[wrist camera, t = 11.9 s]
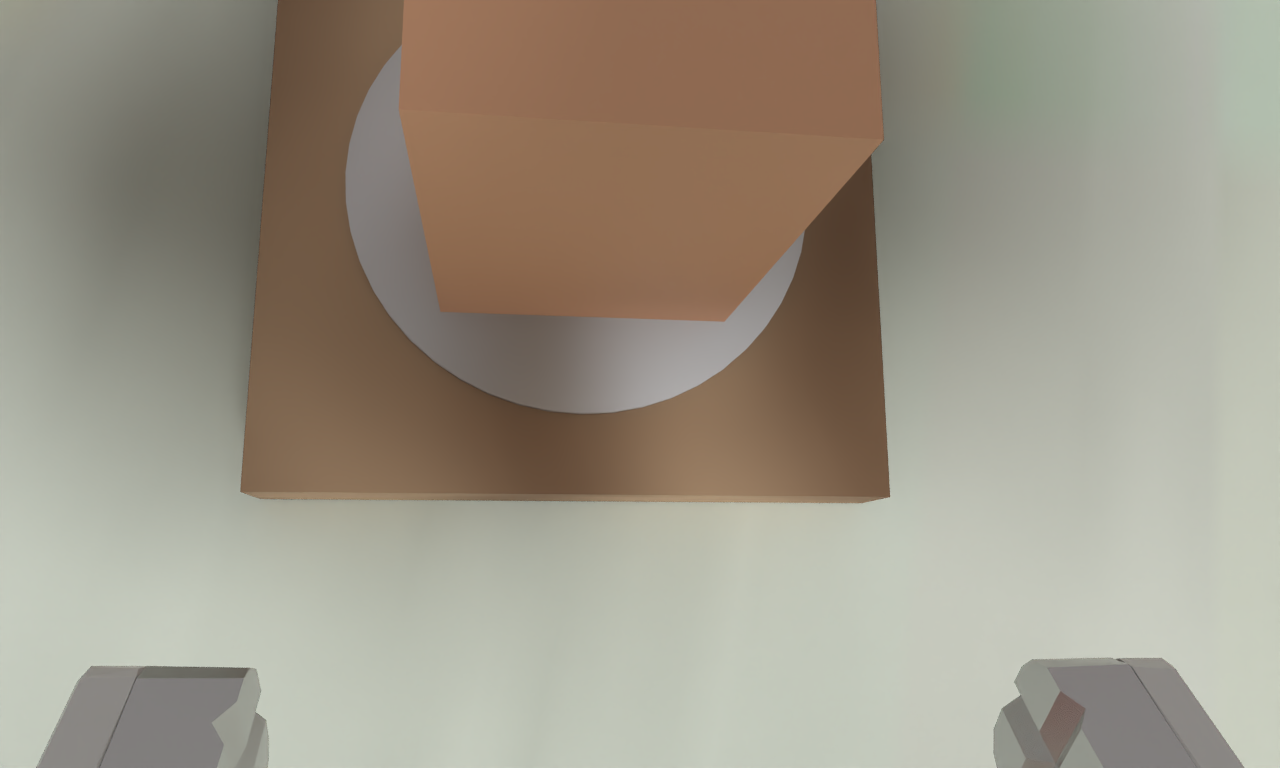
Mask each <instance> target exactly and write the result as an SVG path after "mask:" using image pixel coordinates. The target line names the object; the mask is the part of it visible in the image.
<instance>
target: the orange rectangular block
mask: <svg viewBox="0 0 1280 768" xmlns="http://www.w3.org/2000/svg"><path fill="white" fill-rule="evenodd" d="M399 114H400V118H401V123H402V128H403V133H404V138H405V143H406V147H407V152H408V157H409V162H410V167H411V172H412V177H413V181H414V186H415V191H416V196H417V201H418V206H419V210H420V215H421V220H422V225H423V230H424V235H425V239H426V244H427V249H428V254H429V259H430V264H431V269H432V273H433V278H434V283H435V288H436V293H437V298H438V302H439V307H440V312H458V313H487V314H516V315H545V316H574V317H603V318H632V319H661V320H690V321H719V322H725V321H726V319H727V318H728V317H729V316H730V315H731V314H732V313H733V311H734V310H735V309H736V308H737V307H738V306H739V305H740V303H741V302H742V301H743V300H744V299H745V298H746V297H747V295H748V294H749V293H750V292H751V291H752V290H753V289H754V287H755V286H756V285H757V284H758V283H759V282H760V281H761V279H762V278H763V277H764V276H765V275H766V274H767V273H768V271H769V270H770V269H771V268H772V267H773V266H774V265H775V263H776V262H777V261H778V260H779V259H780V258H781V257H782V255H783V254H784V253H785V252H786V251H787V250H788V249H789V247H790V246H791V245H792V244H793V243H794V242H795V241H796V239H797V238H798V237H799V236H800V235H801V234H802V233H803V232H804V230H805V229H806V228H807V227H808V226H809V225H810V224H811V222H812V221H813V220H814V219H815V218H816V217H817V216H818V214H819V213H820V212H821V211H822V210H823V209H824V208H825V206H826V205H827V204H828V203H829V202H830V201H831V200H832V198H833V197H834V196H835V195H836V194H837V193H838V192H839V190H840V189H841V188H842V187H843V186H844V185H845V184H846V182H847V181H848V180H849V179H850V178H851V177H852V176H853V174H854V173H855V172H856V171H857V170H858V169H859V168H860V166H861V165H862V164H863V163H864V162H865V161H866V160H867V158H868V157H869V156H870V155H871V154H872V153H873V152H874V150H875V149H876V148H877V147H878V146H879V145H880V144H881V142H882V141H883V140H884V134H883V116H882V99H881V81H880V64H879V47H878V29H877V12H876V0H404V10H403V30H402V50H401V71H400V91H399Z"/></svg>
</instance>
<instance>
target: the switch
mask: <svg viewBox="0 0 1280 768" xmlns="http://www.w3.org/2000/svg"><path fill="white" fill-rule="evenodd" d="M403 10H404V0H278V8H277V21H276V34H275V47H274V60H273V73H272V86H271V99H270V112H269V125H268V138H267V151H266V164H265V177H264V190H263V203H262V216H261V229H260V242H259V255H258V268H257V281H256V294H255V307H254V320H253V333H252V346H251V360H250V373H249V386H248V399H247V412H246V425H245V438H244V451H243V464H242V477H241V490H240V492H243V493H245V494H248V495H251V496H254V497H257V498H260V499H360V500H501V501H641V502H781V503H864V502H869V501H874V500H878V499H883V498H888V497H890V488H889V469H888V451H887V433H886V415H885V397H884V379H883V361H882V343H881V325H880V307H879V289H878V270H877V252H876V234H875V216H874V198H873V180H872V162H871V155H870V156H869V157H868V158H867V160H866V161H865V162H864V163H863V164H862V165H861V166H860V168H859V169H858V170H857V171H856V172H855V173H854V174H853V176H852V177H851V178H850V179H849V180H848V181H847V182H846V184H845V185H844V186H843V187H842V188H841V189H840V190H839V192H838V193H837V194H836V195H835V196H834V197H833V198H832V200H831V201H830V202H829V203H828V204H827V205H826V206H825V208H824V209H823V210H822V211H821V212H820V213H819V214H818V216H817V217H816V218H815V219H814V220H813V221H812V222H811V224H810V225H809V226H808V227H807V228H806V229H805V230H804V232H803V233H802V234H801V235H800V236H799V237H798V238H797V239H796V241H795V242H794V243H793V244H792V245H791V246H790V247H789V249H788V250H787V251H786V252H785V253H784V254H783V255H782V257H781V258H780V259H779V260H778V261H777V262H776V263H775V265H774V266H773V267H772V268H771V269H770V270H769V271H768V273H767V274H766V275H765V276H764V277H763V278H762V279H761V281H760V282H759V283H758V284H757V285H756V286H755V287H754V289H753V290H752V291H751V292H750V293H749V294H748V295H747V297H746V298H745V299H744V300H743V301H742V302H741V303H740V305H739V306H738V307H737V308H736V309H735V310H734V311H733V313H732V314H731V315H730V316H729V317H728V318H727V319H726V321H725V322H719V321H690V320H661V319H632V318H603V317H574V316H545V315H516V314H487V313H458V312H440V307H439V302H438V298H437V293H436V288H435V283H434V278H433V273H432V269H431V264H430V259H429V254H428V249H427V244H426V239H425V235H424V230H423V225H422V220H421V215H420V210H419V206H418V201H417V196H416V191H415V186H414V181H413V177H412V172H411V167H410V162H409V157H408V152H407V147H406V143H405V138H404V133H403V128H402V123H401V118H400V114H399V91H400V71H401V50H402V30H403Z"/></svg>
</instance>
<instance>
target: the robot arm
mask: <svg viewBox="0 0 1280 768" xmlns="http://www.w3.org/2000/svg"><path fill="white" fill-rule="evenodd" d="M1014 683H1015V685H1016V687H1017V689H1018V691H1019V693H1020V696H1019V697H1017V698H1016V699H1015V700H1013V701H1012V702H1010V703H1009V704H1008V705H1006V706H1005V707H1003V708H1002V709H1001V712H1000V714H999V717H998V719H997V722H996V724H995V727H994V757H995V761H996V766H997V768H1244V766H1243V765H1242V763H1241V762H1240V761H1239V759H1238V758H1237V756H1236V755H1235V753H1234V752H1233V751H1232V749H1231V748H1230V746H1229V745H1228V743H1227V742H1226V740H1225V739H1224V738H1223V736H1222V735H1221V733H1220V732H1219V730H1218V729H1217V728H1216V726H1215V725H1214V723H1213V722H1212V720H1211V719H1210V718H1209V716H1208V715H1207V713H1206V712H1205V710H1204V709H1203V708H1202V706H1201V705H1200V703H1199V702H1198V700H1197V699H1196V698H1195V696H1194V695H1193V693H1192V692H1191V690H1190V689H1189V688H1188V686H1187V685H1186V683H1185V682H1184V680H1183V679H1182V678H1181V676H1180V675H1179V673H1178V672H1177V670H1176V669H1175V668H1174V667H1173V666H1172V665H1171V664H1169V663H1168V662H1166V661H1165V660H1164V659H1162V658H1119V659H1113V658H1074V659H1032V660H1030V661H1029V662H1028V663H1026V664H1025V665H1023V666H1022V667H1021V669H1020V671H1019V673H1018V675H1017V677H1016V679H1015V681H1014ZM260 693H261V688H260V683H259V678H258V674H257V669H255V668H232V667H172V666H91V667H90V668H89V669H88V670H87V671H86V672H85V674H84V675H83V676H82V677H81V678H80V679H79V680H78V681H77V683H76V685H75V687H74V689H73V691H72V694H71V696H70V698H69V700H68V702H67V704H66V706H65V708H64V710H63V712H62V715H61V717H60V719H59V721H58V723H57V725H56V727H55V729H54V731H53V733H52V735H51V738H50V740H49V742H48V744H47V746H46V748H45V750H44V752H43V754H42V756H41V759H40V761H39V763H38V765H37V767H36V768H268V761H269V736H268V729H267V723H266V720H265V719H264V718H263V717H261V716H260V715H259V714H258V713H256V708H257V704H258V701H259V697H260Z"/></svg>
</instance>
